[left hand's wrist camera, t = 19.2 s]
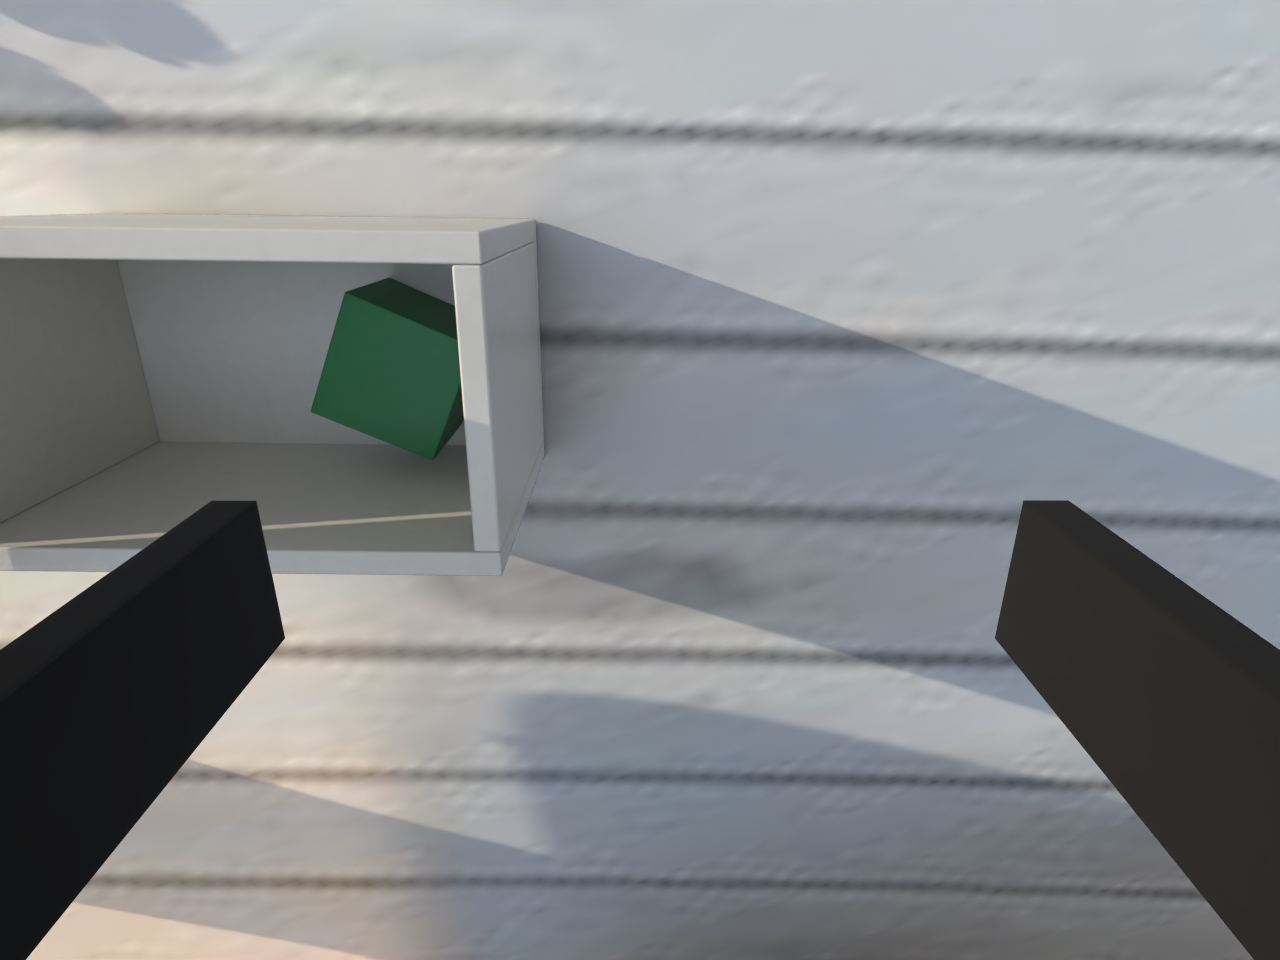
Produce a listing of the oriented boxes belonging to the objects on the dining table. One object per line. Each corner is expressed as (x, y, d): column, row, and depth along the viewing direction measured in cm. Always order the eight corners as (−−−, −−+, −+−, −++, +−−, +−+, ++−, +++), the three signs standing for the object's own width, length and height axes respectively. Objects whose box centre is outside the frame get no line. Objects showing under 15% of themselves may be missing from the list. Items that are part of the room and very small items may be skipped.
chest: (536, 218, 29) (479, 231, 19) (544, 457, 32) (502, 576, 22) (99, 212, 29) (-196, 222, 19) (157, 452, 32) (-63, 570, 22)
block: (498, 324, 30) (474, 346, 25) (461, 424, 31) (433, 461, 27) (388, 276, 29) (344, 291, 25) (356, 381, 30) (309, 412, 26)
